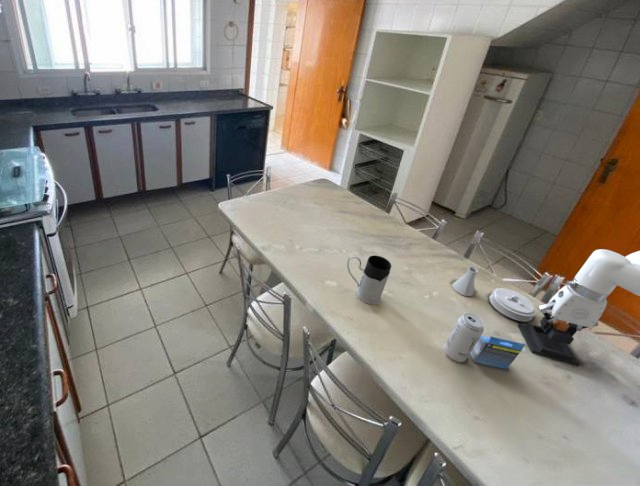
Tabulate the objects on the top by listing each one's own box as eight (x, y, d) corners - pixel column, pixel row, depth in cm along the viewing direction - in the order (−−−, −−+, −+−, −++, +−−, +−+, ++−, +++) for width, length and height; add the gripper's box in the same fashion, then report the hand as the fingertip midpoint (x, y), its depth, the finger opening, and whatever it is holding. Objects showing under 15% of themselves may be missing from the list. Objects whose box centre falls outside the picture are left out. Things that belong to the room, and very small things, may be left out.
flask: (461, 281, 128) (471, 261, 123) (478, 294, 122) (489, 274, 117) (447, 284, 126) (457, 264, 121) (463, 298, 120) (474, 277, 115)
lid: (480, 298, 120) (485, 288, 118) (504, 292, 124) (510, 282, 122) (514, 326, 109) (521, 316, 107) (539, 319, 113) (547, 309, 111)
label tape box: (499, 360, 98) (518, 332, 92) (506, 372, 94) (526, 344, 89) (467, 353, 99) (484, 325, 93) (473, 365, 96) (491, 337, 90)
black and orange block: (557, 326, 104) (566, 315, 102) (569, 344, 98) (579, 333, 96) (539, 321, 105) (547, 310, 103) (550, 339, 99) (558, 328, 97)
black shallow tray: (559, 336, 107) (563, 331, 106) (578, 366, 98) (583, 361, 97) (517, 325, 110) (520, 319, 109) (531, 352, 101) (535, 347, 100)
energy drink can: (458, 368, 94) (479, 332, 87) (438, 351, 99) (457, 316, 92) (468, 358, 97) (490, 324, 90) (448, 343, 102) (467, 308, 95)
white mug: (378, 308, 112) (391, 275, 105) (338, 291, 118) (347, 258, 111) (382, 292, 119) (395, 260, 112) (344, 276, 125) (353, 245, 118)
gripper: (559, 289, 92) (527, 332, 101) (634, 308, 88) (595, 352, 96) (546, 272, 98) (518, 314, 107) (616, 289, 94) (580, 331, 103)
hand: (554, 331), depth 102 cm, fingers closed on black and orange block, 5 cm apart
